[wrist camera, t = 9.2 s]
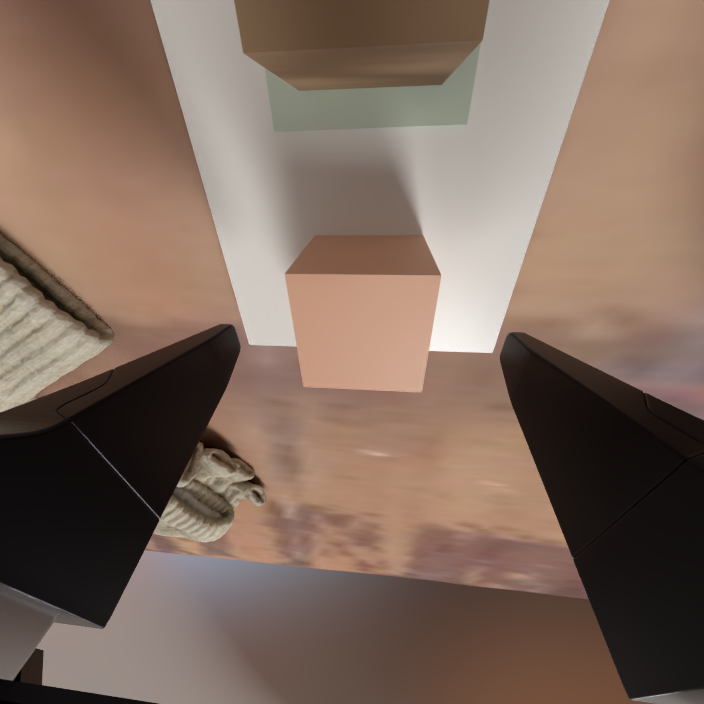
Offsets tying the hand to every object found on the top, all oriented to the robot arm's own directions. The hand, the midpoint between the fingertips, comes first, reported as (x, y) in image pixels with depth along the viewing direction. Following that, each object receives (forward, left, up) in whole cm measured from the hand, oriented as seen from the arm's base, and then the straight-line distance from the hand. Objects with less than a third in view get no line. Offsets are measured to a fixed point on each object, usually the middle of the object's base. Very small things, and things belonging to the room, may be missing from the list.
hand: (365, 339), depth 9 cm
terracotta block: (0, 0, -4) cm, 5 cm away
